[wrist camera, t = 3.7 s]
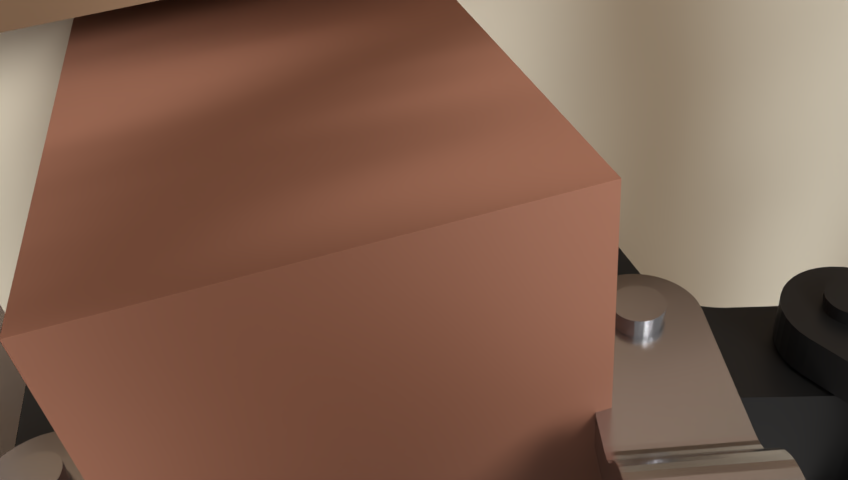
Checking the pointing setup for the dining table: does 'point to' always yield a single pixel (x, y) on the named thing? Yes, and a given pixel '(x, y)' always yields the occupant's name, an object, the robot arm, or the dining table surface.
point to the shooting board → (604, 124)
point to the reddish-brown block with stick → (314, 251)
